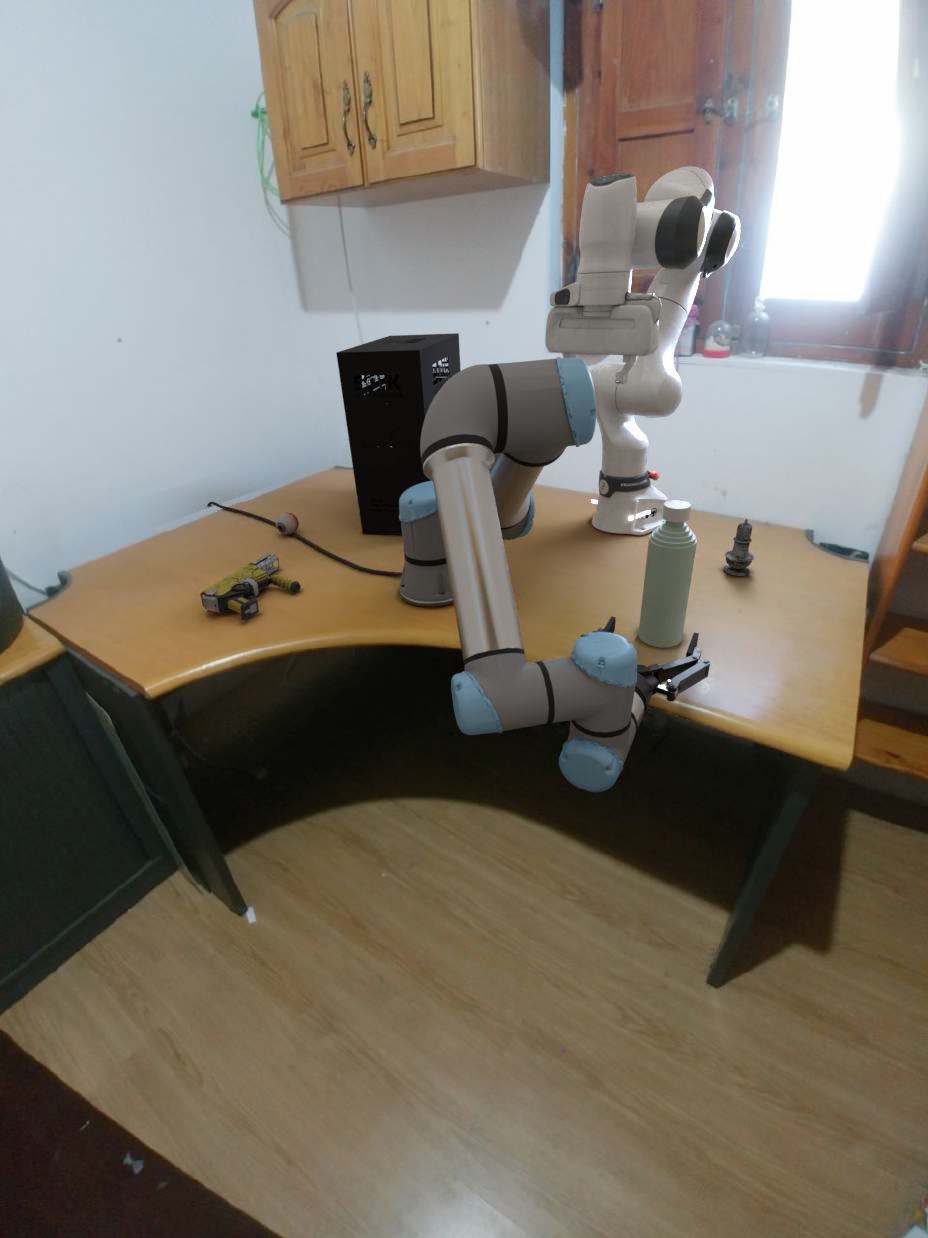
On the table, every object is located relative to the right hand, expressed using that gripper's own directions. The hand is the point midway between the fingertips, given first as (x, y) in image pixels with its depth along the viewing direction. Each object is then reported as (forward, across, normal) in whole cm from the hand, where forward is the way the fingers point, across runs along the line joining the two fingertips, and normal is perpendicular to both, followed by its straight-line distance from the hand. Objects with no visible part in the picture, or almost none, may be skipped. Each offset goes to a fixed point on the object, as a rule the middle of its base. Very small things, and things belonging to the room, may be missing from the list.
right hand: (596, 381), depth 107 cm
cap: (+17, -20, +8) cm, 28 cm away
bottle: (+42, -20, +7) cm, 47 cm away
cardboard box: (+42, +65, -18) cm, 79 cm away
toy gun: (+43, +57, +40) cm, 82 cm away
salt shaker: (+41, -22, -27) cm, 54 cm away
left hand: (+36, -22, +16) cm, 45 cm away
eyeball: (+43, +82, +15) cm, 94 cm away
